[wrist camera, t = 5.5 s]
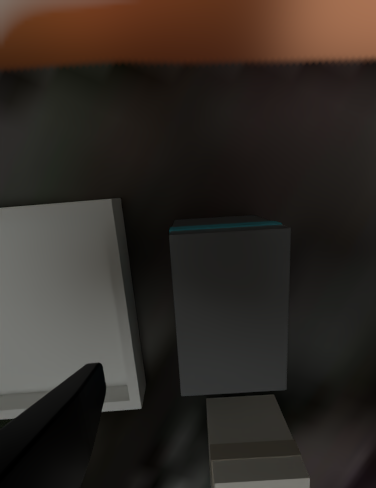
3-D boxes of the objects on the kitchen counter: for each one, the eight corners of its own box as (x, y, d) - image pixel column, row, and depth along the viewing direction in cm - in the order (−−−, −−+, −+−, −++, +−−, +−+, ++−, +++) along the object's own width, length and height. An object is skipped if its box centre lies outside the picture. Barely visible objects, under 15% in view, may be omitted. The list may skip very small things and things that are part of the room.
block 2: (273, 392, 17) (311, 477, 12) (272, 475, 18) (304, 580, 13) (205, 396, 17) (213, 482, 12) (209, 478, 18) (218, 585, 13)
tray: (120, 197, 14) (111, 198, 12) (146, 384, 16) (141, 408, 14) (-61, 212, 14) (-97, 216, 12) (-7, 396, 16) (-30, 421, 14)
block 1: (255, 213, 14) (292, 226, 9) (255, 327, 16) (287, 390, 11) (173, 219, 14) (167, 234, 9) (181, 332, 16) (180, 397, 11)
